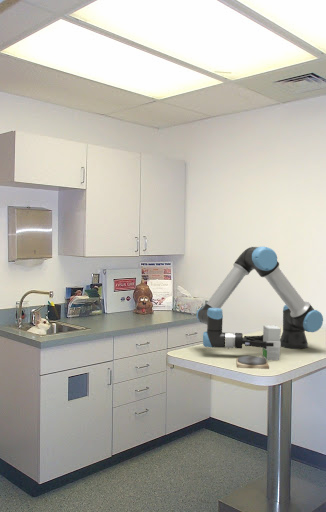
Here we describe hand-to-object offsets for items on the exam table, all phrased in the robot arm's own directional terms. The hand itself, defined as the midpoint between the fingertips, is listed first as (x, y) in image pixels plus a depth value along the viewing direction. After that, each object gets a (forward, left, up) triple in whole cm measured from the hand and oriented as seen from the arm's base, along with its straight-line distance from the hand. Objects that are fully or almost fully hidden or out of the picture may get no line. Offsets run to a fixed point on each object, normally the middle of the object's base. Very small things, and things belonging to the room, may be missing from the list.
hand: (279, 342), depth 236 cm
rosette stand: (+14, +15, -8) cm, 22 cm away
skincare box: (+4, 0, -8) cm, 9 cm away
